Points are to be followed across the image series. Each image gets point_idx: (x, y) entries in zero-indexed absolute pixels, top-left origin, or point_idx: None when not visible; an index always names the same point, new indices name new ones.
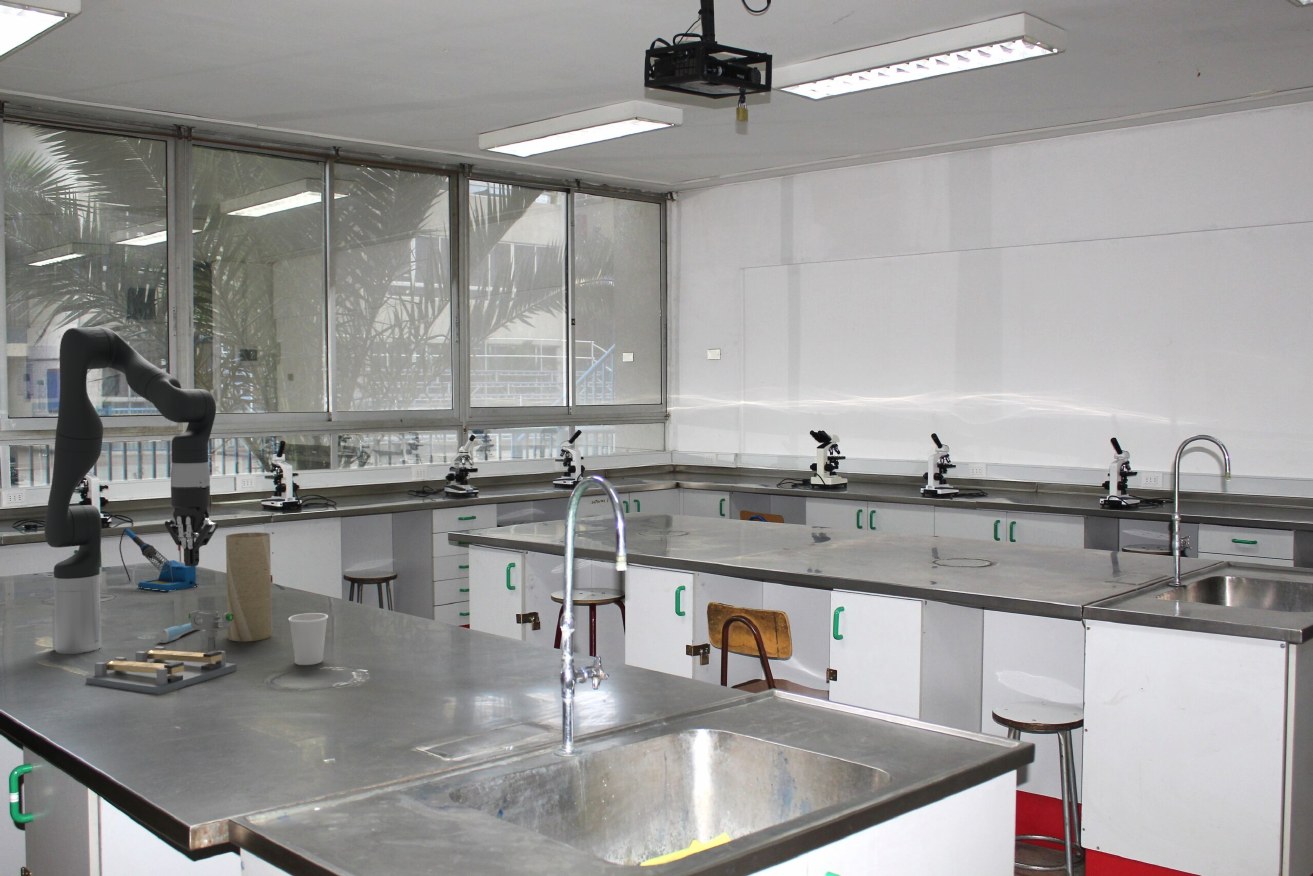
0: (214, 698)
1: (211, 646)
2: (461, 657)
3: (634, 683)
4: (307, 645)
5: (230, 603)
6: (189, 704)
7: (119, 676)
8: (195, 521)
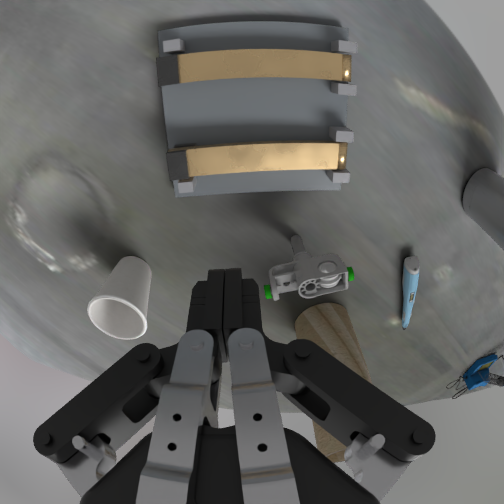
0: (73, 74)
1: (294, 246)
2: (43, 330)
3: None
4: (108, 276)
5: (346, 344)
6: (80, 36)
7: (299, 49)
8: (130, 490)
